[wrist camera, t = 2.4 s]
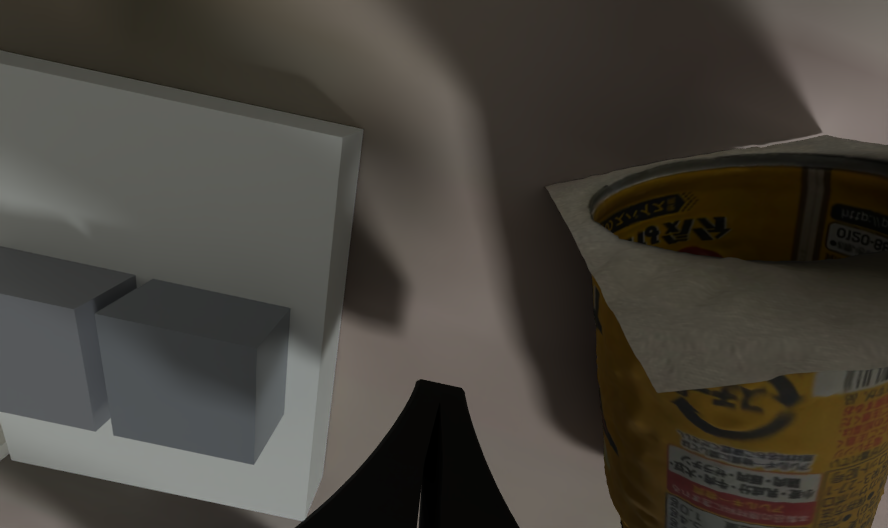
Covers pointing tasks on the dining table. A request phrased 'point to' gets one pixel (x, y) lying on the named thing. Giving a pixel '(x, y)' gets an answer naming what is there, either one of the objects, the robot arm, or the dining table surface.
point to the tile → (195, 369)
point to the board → (185, 248)
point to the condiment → (741, 333)
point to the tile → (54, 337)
